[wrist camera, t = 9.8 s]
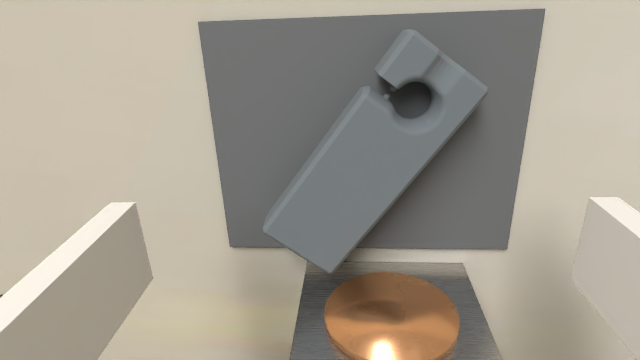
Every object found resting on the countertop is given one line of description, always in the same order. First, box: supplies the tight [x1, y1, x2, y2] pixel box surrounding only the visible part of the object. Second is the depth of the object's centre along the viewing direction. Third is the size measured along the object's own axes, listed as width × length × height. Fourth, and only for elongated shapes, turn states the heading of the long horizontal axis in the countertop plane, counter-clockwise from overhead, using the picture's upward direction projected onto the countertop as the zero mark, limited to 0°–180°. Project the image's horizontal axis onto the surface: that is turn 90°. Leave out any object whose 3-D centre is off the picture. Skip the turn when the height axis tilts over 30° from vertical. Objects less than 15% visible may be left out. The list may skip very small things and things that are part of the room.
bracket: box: [263, 29, 488, 273], centre depth 18 cm, size 4×10×2 cm, turn 145°
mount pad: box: [198, 9, 545, 249], centre depth 19 cm, size 14×11×1 cm
